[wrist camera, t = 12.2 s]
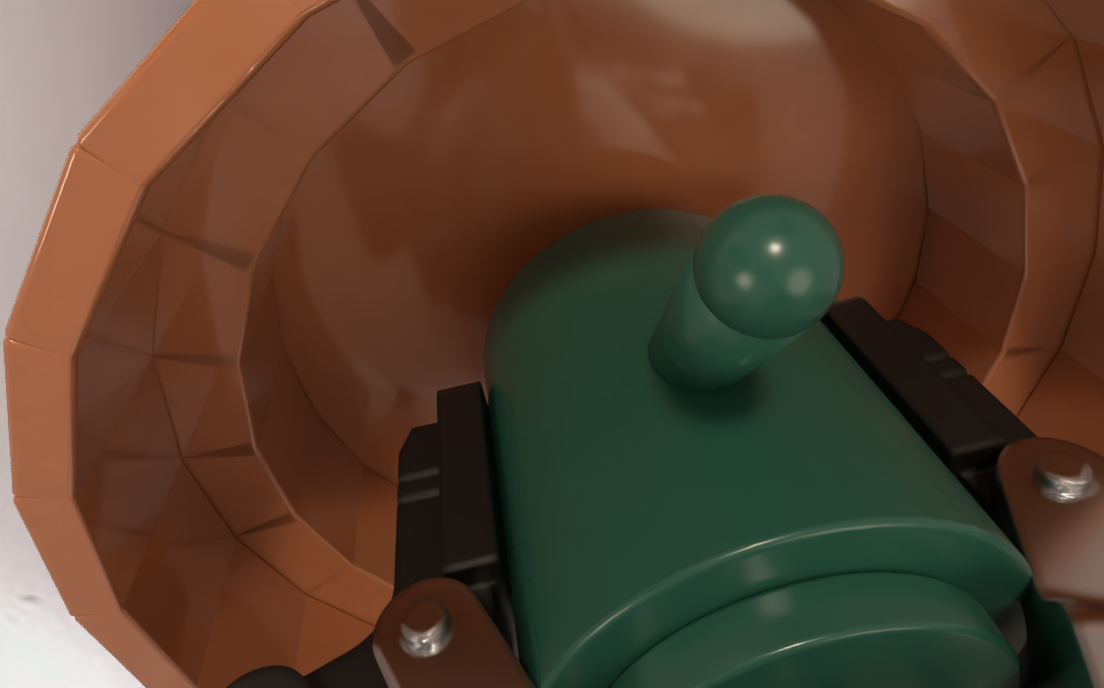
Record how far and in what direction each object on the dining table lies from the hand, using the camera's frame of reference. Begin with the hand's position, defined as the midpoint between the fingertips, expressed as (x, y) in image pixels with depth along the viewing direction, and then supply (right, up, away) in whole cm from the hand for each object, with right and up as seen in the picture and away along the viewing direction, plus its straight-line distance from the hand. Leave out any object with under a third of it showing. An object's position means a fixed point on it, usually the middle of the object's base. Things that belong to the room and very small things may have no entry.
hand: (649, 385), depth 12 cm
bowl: (-1, +2, +2) cm, 3 cm away
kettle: (0, +1, +1) cm, 1 cm away
